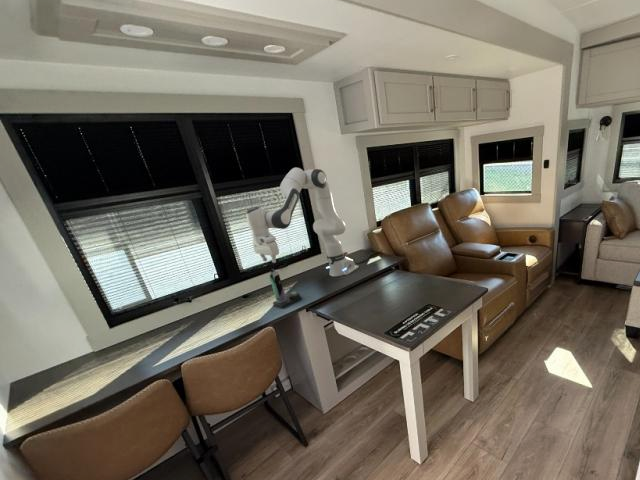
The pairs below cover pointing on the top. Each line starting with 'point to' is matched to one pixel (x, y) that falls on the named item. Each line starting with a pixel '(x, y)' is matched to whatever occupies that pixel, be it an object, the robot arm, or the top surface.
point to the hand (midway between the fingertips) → (269, 261)
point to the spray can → (277, 286)
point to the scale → (288, 301)
